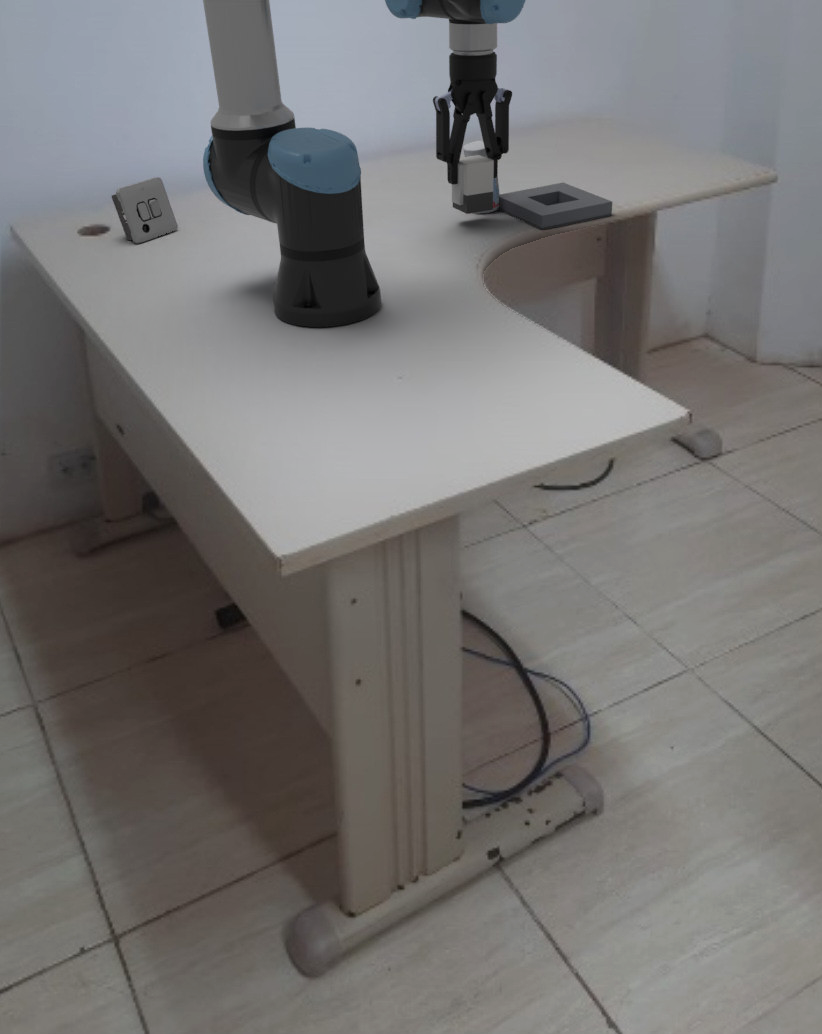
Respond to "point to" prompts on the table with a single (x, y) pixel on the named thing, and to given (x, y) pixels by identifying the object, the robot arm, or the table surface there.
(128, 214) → the electrical switch
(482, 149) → the pill bottle
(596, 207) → the socket plate
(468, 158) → the plug
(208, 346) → the table surface
